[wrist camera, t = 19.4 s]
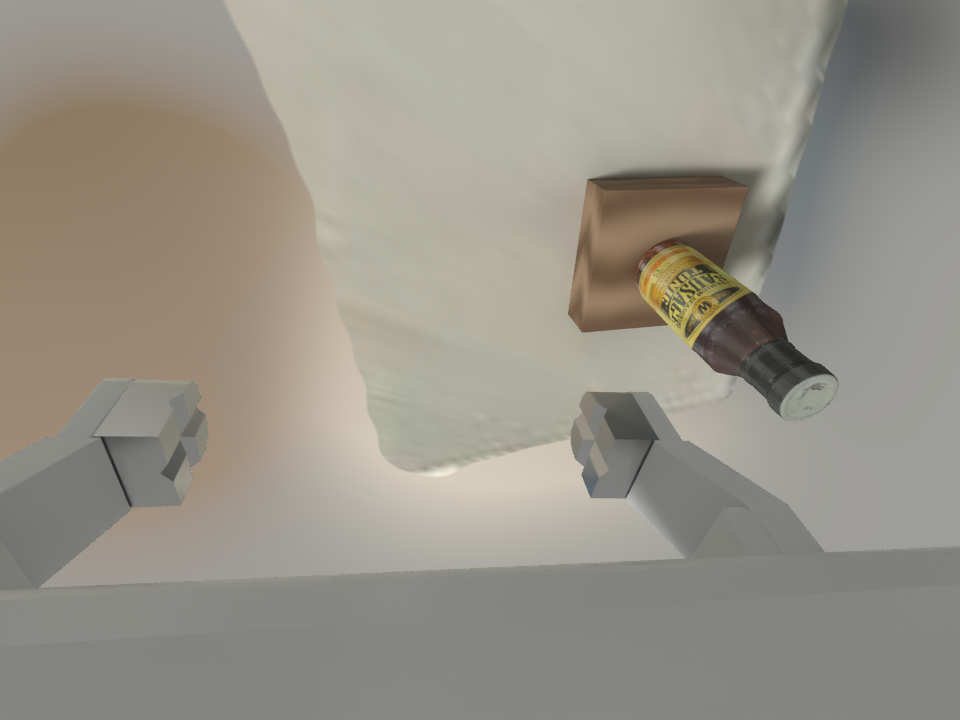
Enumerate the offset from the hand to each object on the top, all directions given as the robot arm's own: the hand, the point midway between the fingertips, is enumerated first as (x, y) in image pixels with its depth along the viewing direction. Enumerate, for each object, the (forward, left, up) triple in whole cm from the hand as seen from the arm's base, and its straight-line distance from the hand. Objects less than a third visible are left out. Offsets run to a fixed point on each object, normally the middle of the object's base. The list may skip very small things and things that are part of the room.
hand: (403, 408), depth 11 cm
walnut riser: (+11, +26, -35) cm, 45 cm away
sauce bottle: (+11, +26, -31) cm, 43 cm away
